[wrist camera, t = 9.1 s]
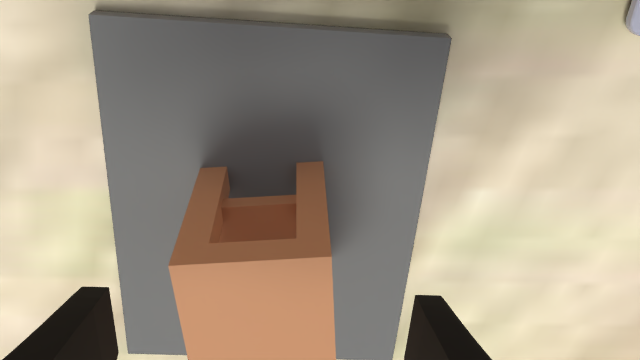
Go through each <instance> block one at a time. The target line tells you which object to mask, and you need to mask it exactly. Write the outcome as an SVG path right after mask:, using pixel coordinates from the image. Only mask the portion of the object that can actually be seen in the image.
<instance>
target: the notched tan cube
mask: <svg viewBox="0 0 640 360" xmlns="http://www.w3.org/2000/svg"><path fill="white" fill-rule="evenodd" d="M229 193H230V185H229V178H228V171H227V167H209V168H200V170H199V173H198V176H197V179H196V182H195V185H194V188H193V191H192V195H191V198H190V201H189V204H188V207H187V210H186V213H185V216H184V219H183V222H182V225H181V228H180V231H179V234H178V237H177V241H176V244H175V247H174V250H173V253H172V256H171V259H170V262H169V265H168V267H169V272H170V277H171V281H172V286H173V291H174V295H175V300H176V305H177V310H178V314H179V319H180V324H181V328H182V333H183V338H184V342H185V347H186V352H187V357H188V360H336V348H335V324H334V300H333V276H332V254H331V243H330V232H329V221H328V210H327V199H326V188H325V177H324V165H323V161H318V162H300V163H296V195H281V196H263V197H245V198H229Z"/></svg>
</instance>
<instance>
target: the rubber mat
mask: <svg viewBox="0 0 640 360" xmlns="http://www.w3.org/2000/svg"><path fill="white" fill-rule="evenodd" d="M88 15H89V23H90V32H91V40H92V49H93V58H94V66H95V75H96V83H97V92H98V100H99V109H100V117H101V126H102V135H103V143H104V152H105V160H106V169H107V177H108V186H109V194H110V203H111V211H112V220H113V229H114V237H115V246H116V254H117V263H118V271H119V280H120V288H121V297H122V306H123V314H124V323H125V331H126V340H127V348H128V354H164V355H187V352H186V347H185V342H184V338H183V333H182V328H181V324H180V319H179V314H178V310H177V305H176V300H175V295H174V291H173V286H172V281H171V277H170V272H169V267H168V265H169V262H170V259H171V256H172V253H173V250H174V247H175V244H176V241H177V237H178V234H179V231H180V228H181V225H182V222H183V219H184V216H185V213H186V210H187V207H188V204H189V201H190V198H191V195H192V191H193V188H194V185H195V182H196V179H197V176H198V173H199V170H200V168H209V167H227V171H228V178H229V185H230V193H229V198H245V197H263V196H281V195H296V163H300V162H318V161H323V165H324V177H325V188H326V199H327V210H328V221H329V232H330V243H331V254H332V276H333V300H334V324H335V348H336V359H346V360H392V358H393V353H394V348H395V342H396V337H397V331H398V326H399V320H400V315H401V310H402V304H403V299H404V293H405V288H406V282H407V277H408V272H409V266H410V261H411V255H412V250H413V244H414V239H415V234H416V228H417V223H418V217H419V212H420V207H421V201H422V196H423V190H424V185H425V179H426V174H427V169H428V163H429V158H430V152H431V147H432V141H433V136H434V131H435V125H436V120H437V114H438V109H439V103H440V98H441V93H442V87H443V82H444V76H445V71H446V65H447V60H448V55H449V49H450V44H451V37H450V36H449V35H448V34H440V33H425V32H410V31H395V30H380V29H365V28H350V27H335V26H320V25H305V24H290V23H275V22H260V21H245V20H230V19H215V18H200V17H185V16H170V15H155V14H140V13H124V12H109V11H93V12H91V13H90V14H88Z"/></svg>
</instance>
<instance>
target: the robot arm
mask: <svg viewBox="0 0 640 360" xmlns="http://www.w3.org/2000/svg"><path fill="white" fill-rule="evenodd" d="M626 27H627V29H628V30H629V31H630V32H631V33H633V34H636V35H639V36H640V0H632V2H631V5H630V8H629V11H628V14H627V17H626ZM117 356H118V346H117V339H116V332H115V326H114V319H113V312H112V306H111V299H110V292H109V287H81V288H80V289H79V290H78V291H77V292H76V293H75V294H73V295H72V296H71V297H70V298H69V299H68V300H67V301H66V302H65V303H64V304H63V305H62V306H61V307H60V308H59V309H58V310H56V311H55V312H54V313H53V314H52V315H51V316H50V317H49V318H48V319H47V320H46V321H45V322H44V323H43V324H42V325H41V326H40V327H38V328H37V329H36V330H35V331H34V332H33V333H32V334H31V335H30V336H29V337H27V338H26V339H25V340H24V341H23V342H22V343H21V344H20V345H19V346H17V347H16V348H15V349H14V350H13V351H12V352H11V353H10V354H8V355H7V356H6V357H5V358H4V359H2V360H117ZM404 360H492V359H491V358H490V357H489V356H488V355H487V353H486V352H485V351H484V350H483V349H482V347H481V346H480V345H479V344H478V343H477V341H476V340H475V339H474V338H473V336H472V335H471V334H470V333H469V331H468V330H467V329H466V328H465V326H464V325H463V324H462V322H461V321H460V320H459V319H458V317H457V316H456V315H455V313H454V312H453V311H452V309H451V308H450V307H449V305H448V304H447V303H446V301H445V300H444V299H443V298H442V297H441V296H433V295H415V300H414V305H413V311H412V317H411V322H410V328H409V334H408V339H407V345H406V351H405V356H404Z"/></svg>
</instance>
